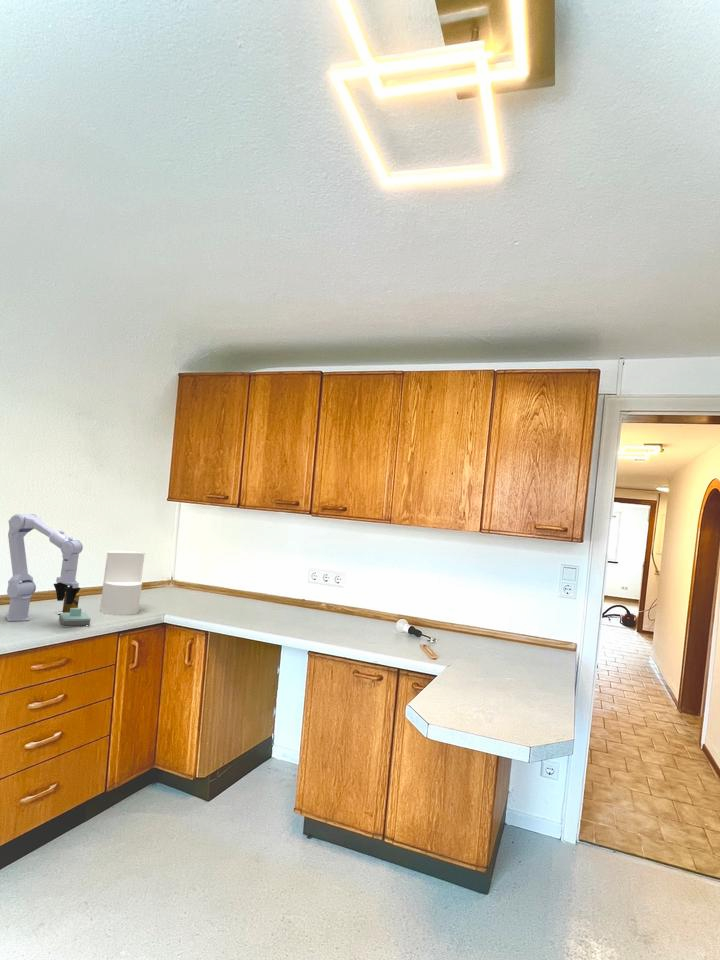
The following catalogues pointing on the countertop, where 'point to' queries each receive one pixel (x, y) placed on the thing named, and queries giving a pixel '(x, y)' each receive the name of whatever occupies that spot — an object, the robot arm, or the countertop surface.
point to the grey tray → (74, 622)
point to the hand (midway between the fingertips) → (64, 602)
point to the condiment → (74, 605)
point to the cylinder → (122, 582)
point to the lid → (75, 615)
